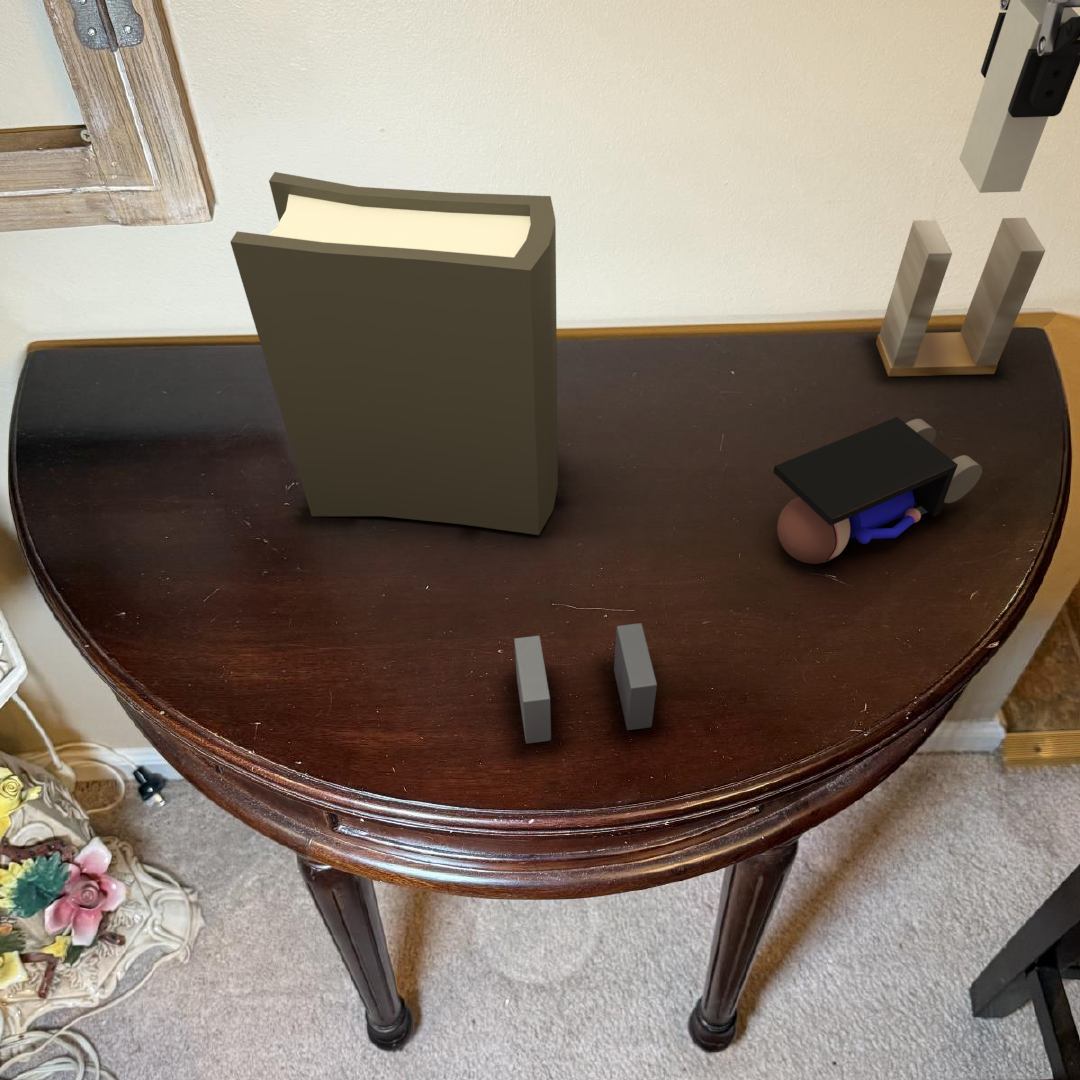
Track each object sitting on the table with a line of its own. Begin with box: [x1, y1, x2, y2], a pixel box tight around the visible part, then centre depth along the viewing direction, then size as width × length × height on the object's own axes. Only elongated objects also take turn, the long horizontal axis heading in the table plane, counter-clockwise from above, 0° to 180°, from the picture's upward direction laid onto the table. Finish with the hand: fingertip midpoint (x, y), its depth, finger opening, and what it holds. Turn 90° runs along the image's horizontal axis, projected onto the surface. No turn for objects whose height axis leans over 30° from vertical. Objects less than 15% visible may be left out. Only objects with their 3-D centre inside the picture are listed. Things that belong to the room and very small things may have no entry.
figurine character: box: [773, 416, 983, 565], centre depth 70 cm, size 7×8×15 cm
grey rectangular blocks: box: [513, 622, 658, 744], centre depth 61 cm, size 8×5×5 cm, turn 98°
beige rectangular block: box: [959, 0, 1080, 194], centre depth 64 cm, size 3×5×11 cm, turn 1°
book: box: [229, 171, 559, 536], centre depth 66 cm, size 18×8×24 cm, turn 81°
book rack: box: [875, 217, 1046, 378], centre depth 80 cm, size 9×5×12 cm, turn 91°
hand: (1019, 92), depth 63 cm, fingers closed on beige rectangular block, 4 cm apart
